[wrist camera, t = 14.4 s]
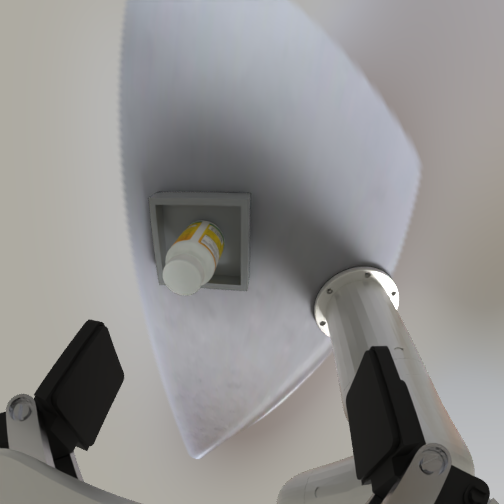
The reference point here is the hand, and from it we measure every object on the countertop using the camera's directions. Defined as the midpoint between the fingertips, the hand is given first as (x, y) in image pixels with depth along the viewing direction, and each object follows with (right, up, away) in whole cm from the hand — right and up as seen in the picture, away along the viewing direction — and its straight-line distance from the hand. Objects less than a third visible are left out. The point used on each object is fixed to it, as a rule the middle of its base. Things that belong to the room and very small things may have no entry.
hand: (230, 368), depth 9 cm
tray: (-5, +6, +27) cm, 28 cm away
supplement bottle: (-5, +6, +26) cm, 27 cm away
